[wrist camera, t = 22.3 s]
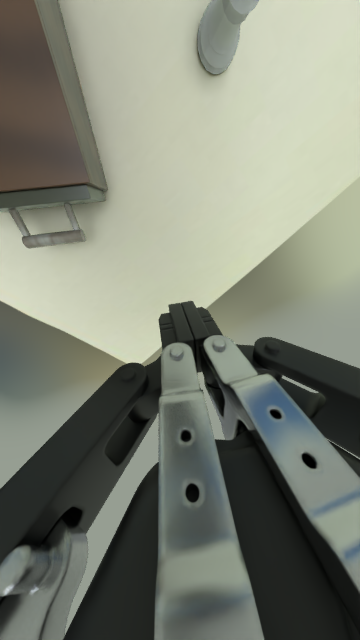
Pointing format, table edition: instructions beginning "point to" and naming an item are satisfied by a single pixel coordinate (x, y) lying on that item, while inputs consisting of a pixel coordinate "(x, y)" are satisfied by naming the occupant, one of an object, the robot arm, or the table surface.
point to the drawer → (49, 199)
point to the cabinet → (42, 103)
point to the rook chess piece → (221, 32)
